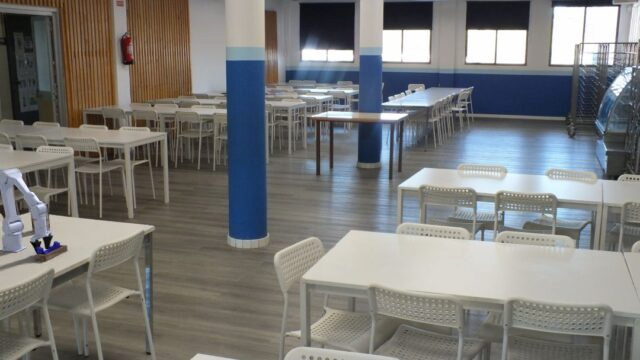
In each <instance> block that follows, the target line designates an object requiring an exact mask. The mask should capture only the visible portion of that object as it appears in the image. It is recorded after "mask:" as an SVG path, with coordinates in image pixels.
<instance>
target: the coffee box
mask: <svg viewBox="0 0 640 360" xmlns="http://www.w3.org/2000/svg"><path fill="white" fill-rule="evenodd" d="M45 204H46V206H47V212H46V213H45V216H46V227H47V231H51V223H50V222H51V221H50V213H49V212H50V211H49V203H45ZM30 210H31V208H30V207H29V211H30ZM30 219H31V220H30V221H31V230H32V232H35V227H34V219H33V217H32V214H31V213H30Z"/></svg>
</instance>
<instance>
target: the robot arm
mask: <svg viewBox="0 0 640 360" xmlns="http://www.w3.org/2000/svg"><path fill="white" fill-rule="evenodd" d="M13 185H14V186H15V187H17V189H18V190H19V191H20V193H21V194H23V195H22V196H23V200H24V201H25V203H26V204H27V205H28V207H29V212H30V215H31V214H32V217H33V219H34V227H35V231H34V235H33V236H32V237H31V238H30V240H29V242H30V244H31V246H32V248H33V249H34V252H35V255H36V254H37V247H39V246H40V247H42V246H41V244H42V241H41V239H42V240H43V244H44V248H45V250H47V249H48V248H49V247H50V246H51V243H52V240H53V237H54V235H53V232H52V230H50V231H47V227H46V216H45V213H46V212H47V206H46V204H47V203H45V202H43V201H41V200H40V199H39V197H38V196H37V195H36V194H35V192H33V191H30V190H29V187H28V186H27V184H26V183H25V181H24V180H23V175H22V172H21V170H20V169H19V168H17V167H14V168H9V169H5V170H0V195H1V200H2V204H3V209H4V213H5V217H4V218H3V220H2V221H1V224H2V225H1V231H2V233H3V235H2V237H1V244H2V250H1V251H2V252H9V253H10V252H13V253H18V252H20V251H23V250H24V249H27V246H23V237H22V233H23V231H24V229H25V224H24V221H23V219H22V217H21V216H19V215H18V214H17V209H16V204H15V198H14V194H13V189H12V186H13ZM30 208H31V210H30Z"/></svg>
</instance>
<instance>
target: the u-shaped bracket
mask: <svg viewBox="0 0 640 360" xmlns="http://www.w3.org/2000/svg"><path fill="white" fill-rule="evenodd" d="M67 252H68V245H66V244H60V248H58V249H56V250H54V251H52V252H50V253H48V254H46V255H42V254H36V253H35V261H36V262H37V261H38V262H47V261H50V260H53V259H55V258H56V257H58V256H61V255H62V254H64V253H67Z"/></svg>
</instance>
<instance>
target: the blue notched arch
mask: <svg viewBox="0 0 640 360" xmlns="http://www.w3.org/2000/svg"><path fill="white" fill-rule="evenodd" d="M60 245H61V242H59V241H57V240H54V241H53V244H52V245H50V247H49V248H48V249H45V250H44V247H42V246H39V247H37V254H42V255H46V254H48V253H50V252H52V251H54V250H56V249H58V248H60Z"/></svg>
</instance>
